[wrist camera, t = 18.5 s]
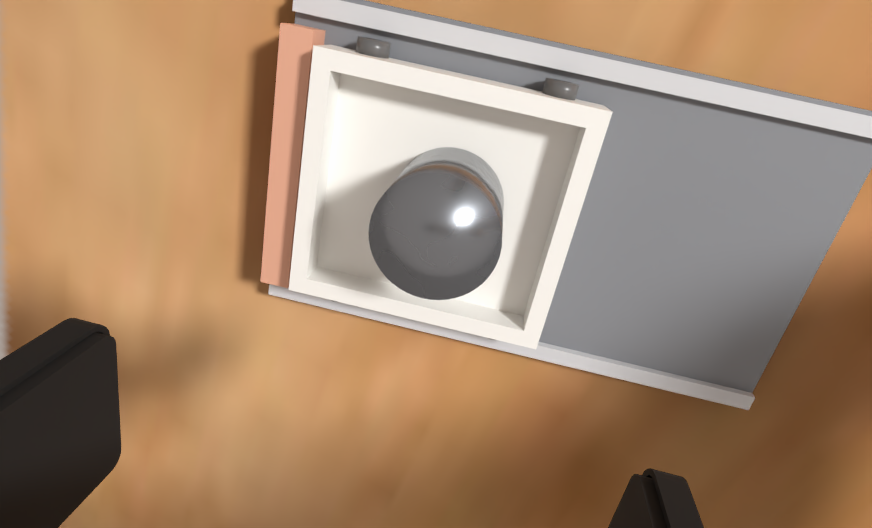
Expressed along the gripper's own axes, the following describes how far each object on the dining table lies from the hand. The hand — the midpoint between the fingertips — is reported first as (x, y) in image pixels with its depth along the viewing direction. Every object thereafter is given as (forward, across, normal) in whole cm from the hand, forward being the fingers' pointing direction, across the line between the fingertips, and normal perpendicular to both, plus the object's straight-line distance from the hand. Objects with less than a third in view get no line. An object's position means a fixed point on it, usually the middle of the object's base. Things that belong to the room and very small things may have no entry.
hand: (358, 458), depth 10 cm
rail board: (+19, -4, 0) cm, 19 cm away
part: (+17, 0, 0) cm, 17 cm away
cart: (+17, +1, 0) cm, 17 cm away
